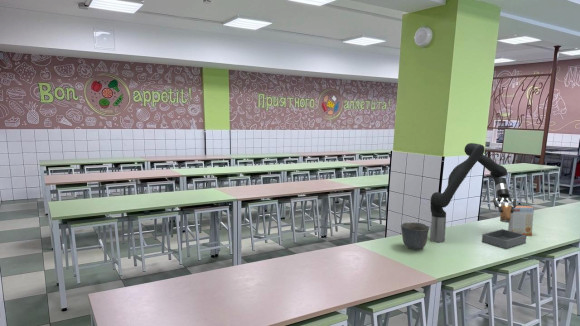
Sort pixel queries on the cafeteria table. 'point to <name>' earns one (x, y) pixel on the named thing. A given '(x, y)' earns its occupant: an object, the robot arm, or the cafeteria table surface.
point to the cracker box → (522, 220)
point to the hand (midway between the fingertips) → (506, 212)
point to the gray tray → (504, 238)
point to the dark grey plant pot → (414, 235)
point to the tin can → (506, 212)
